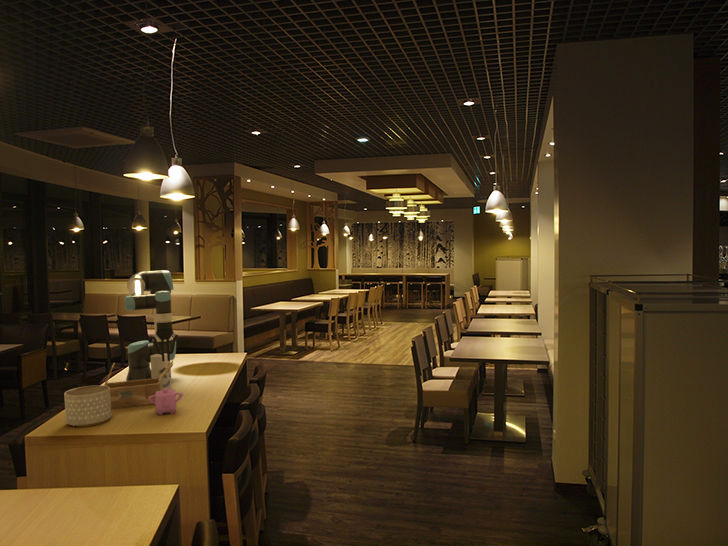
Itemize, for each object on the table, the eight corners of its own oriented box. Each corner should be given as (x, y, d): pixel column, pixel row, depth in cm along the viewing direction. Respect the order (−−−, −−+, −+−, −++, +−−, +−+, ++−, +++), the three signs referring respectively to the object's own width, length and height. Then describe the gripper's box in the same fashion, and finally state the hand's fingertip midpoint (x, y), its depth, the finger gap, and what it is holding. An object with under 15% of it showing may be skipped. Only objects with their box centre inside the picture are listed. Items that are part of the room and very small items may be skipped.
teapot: (188, 410, 274) (187, 387, 273) (165, 418, 262) (164, 394, 262) (167, 406, 282) (165, 384, 281) (143, 414, 270) (142, 391, 270)
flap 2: (159, 376, 300) (172, 360, 301) (160, 376, 300) (173, 361, 302) (158, 381, 288) (172, 364, 290) (159, 381, 288) (172, 365, 290)
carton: (107, 402, 294) (106, 382, 294) (161, 396, 302) (160, 377, 302) (103, 410, 279) (102, 389, 279) (160, 403, 287) (159, 384, 287)
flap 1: (106, 381, 292) (114, 362, 293) (107, 381, 292) (115, 362, 293) (103, 386, 281) (111, 367, 282) (104, 386, 281) (112, 367, 282)
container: (165, 394, 307) (163, 356, 306) (148, 393, 309) (146, 356, 308) (175, 389, 317) (173, 353, 316) (158, 389, 319) (156, 353, 318)
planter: (64, 430, 249) (62, 397, 248) (67, 419, 266) (65, 388, 265) (111, 424, 256) (109, 392, 255) (111, 413, 273) (110, 383, 272)
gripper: (150, 323, 288) (152, 370, 289) (177, 321, 292) (179, 367, 293) (151, 321, 295) (153, 367, 297) (177, 319, 299) (179, 365, 300)
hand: (166, 367), depth 295 cm, fingers closed
